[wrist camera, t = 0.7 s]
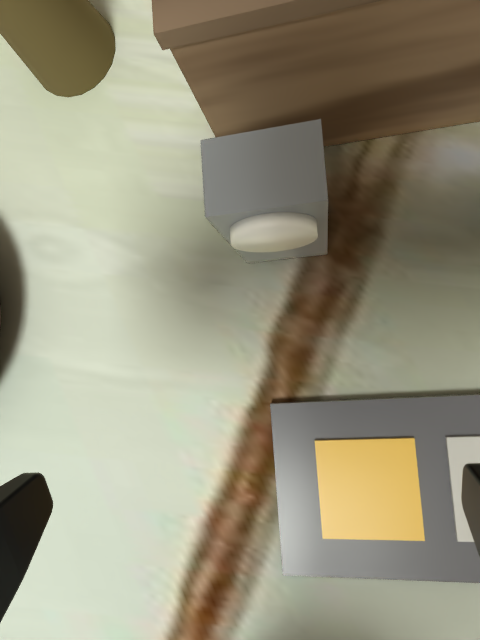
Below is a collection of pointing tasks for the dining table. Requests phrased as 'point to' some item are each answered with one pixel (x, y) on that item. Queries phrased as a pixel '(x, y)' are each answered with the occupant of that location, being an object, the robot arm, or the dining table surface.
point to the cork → (59, 42)
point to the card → (376, 487)
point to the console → (327, 63)
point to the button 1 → (268, 191)
